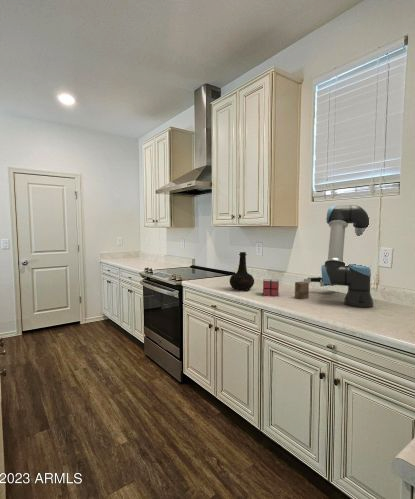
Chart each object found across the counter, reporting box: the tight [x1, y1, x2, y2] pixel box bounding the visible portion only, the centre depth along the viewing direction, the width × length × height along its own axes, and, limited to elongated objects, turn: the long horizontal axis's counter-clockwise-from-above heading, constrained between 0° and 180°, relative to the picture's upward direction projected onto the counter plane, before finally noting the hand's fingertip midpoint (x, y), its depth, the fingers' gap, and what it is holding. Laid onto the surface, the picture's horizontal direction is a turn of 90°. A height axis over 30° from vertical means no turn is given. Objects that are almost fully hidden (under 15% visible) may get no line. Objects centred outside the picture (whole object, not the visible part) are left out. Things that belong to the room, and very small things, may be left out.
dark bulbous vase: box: [229, 251, 255, 292], centre depth 219 cm, size 18×18×28 cm
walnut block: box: [294, 281, 310, 300], centre depth 193 cm, size 6×6×10 cm
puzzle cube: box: [262, 278, 279, 297], centre depth 203 cm, size 10×10×10 cm
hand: (312, 282), depth 198 cm, fingers open, 13 cm apart
